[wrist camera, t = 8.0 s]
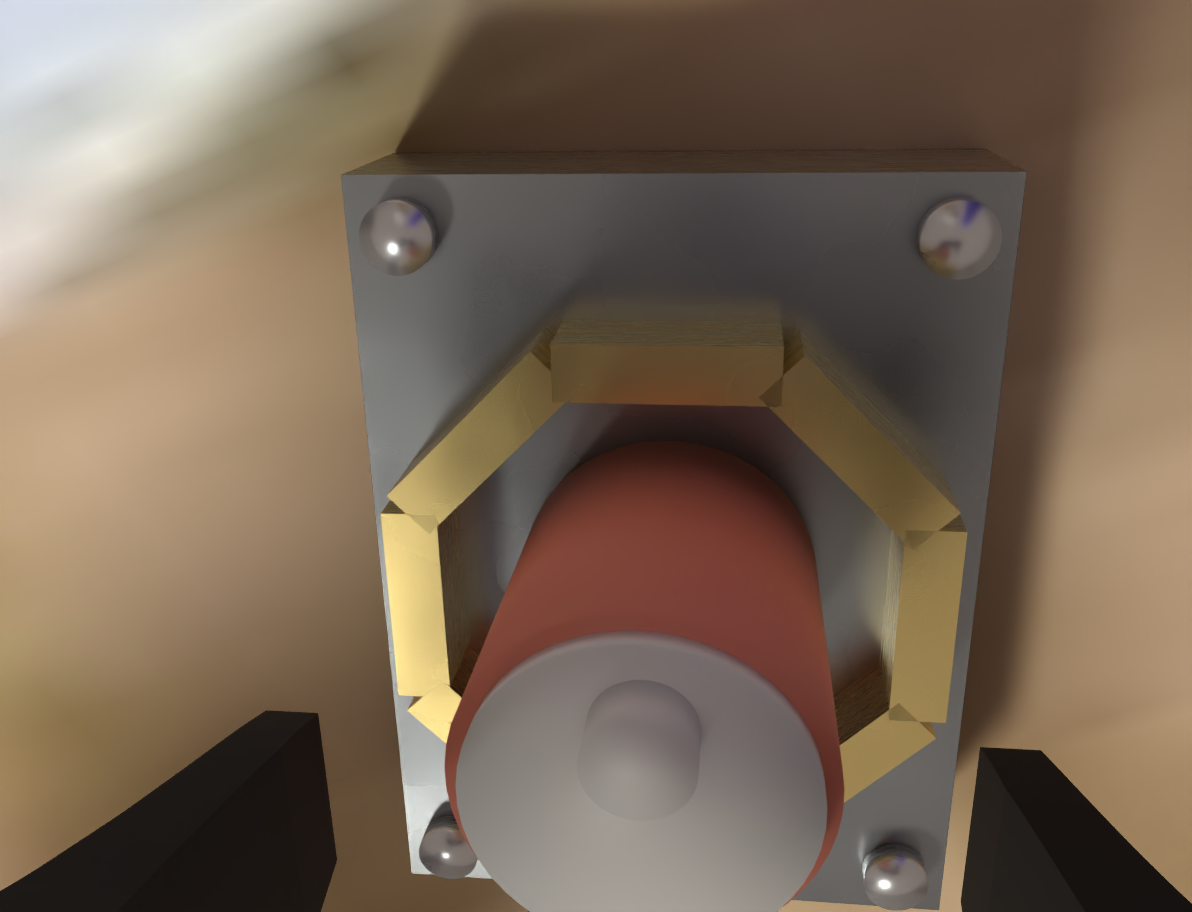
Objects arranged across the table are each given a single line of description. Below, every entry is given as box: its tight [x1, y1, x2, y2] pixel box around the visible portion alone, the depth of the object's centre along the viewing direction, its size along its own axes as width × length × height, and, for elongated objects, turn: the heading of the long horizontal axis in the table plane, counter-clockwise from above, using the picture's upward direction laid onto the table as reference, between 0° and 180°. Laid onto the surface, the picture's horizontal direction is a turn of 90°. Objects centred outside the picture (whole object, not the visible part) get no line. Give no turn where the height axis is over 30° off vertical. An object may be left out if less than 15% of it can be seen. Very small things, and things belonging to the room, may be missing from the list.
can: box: [444, 441, 845, 912], centre depth 14 cm, size 4×4×6 cm
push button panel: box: [341, 149, 1026, 910], centre depth 18 cm, size 12×9×4 cm
